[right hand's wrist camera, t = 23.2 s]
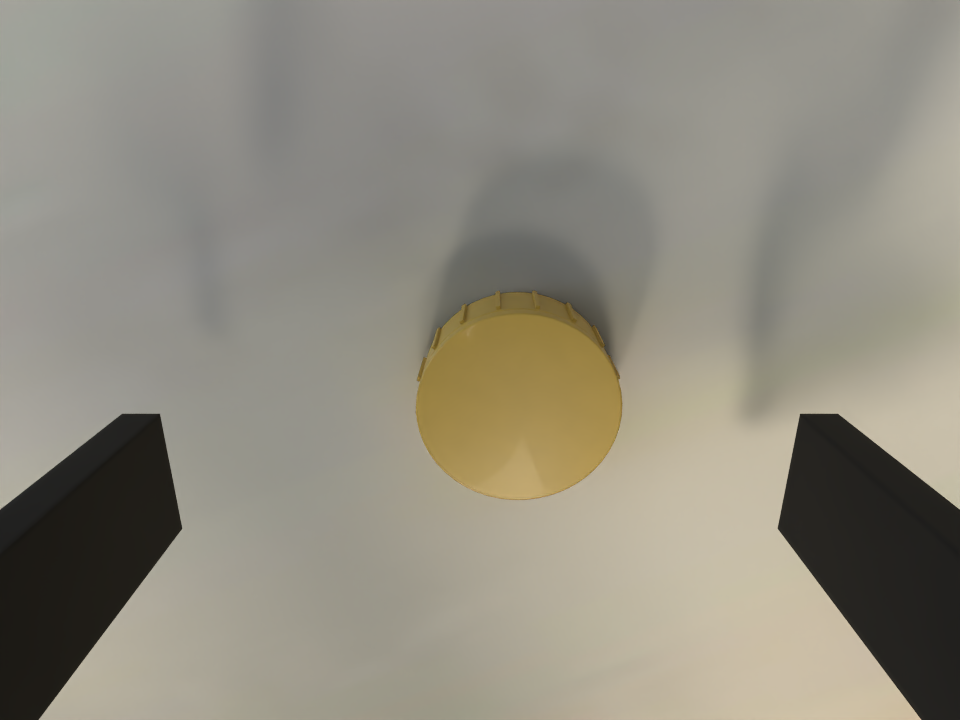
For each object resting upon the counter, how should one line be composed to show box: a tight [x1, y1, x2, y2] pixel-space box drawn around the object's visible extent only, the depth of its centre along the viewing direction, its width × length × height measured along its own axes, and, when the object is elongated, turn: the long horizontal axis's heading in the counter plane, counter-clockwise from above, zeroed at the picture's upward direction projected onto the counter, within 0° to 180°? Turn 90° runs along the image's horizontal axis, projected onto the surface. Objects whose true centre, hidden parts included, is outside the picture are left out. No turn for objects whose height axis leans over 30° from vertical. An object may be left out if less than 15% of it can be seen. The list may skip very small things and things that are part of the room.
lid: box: [416, 291, 622, 500], centre depth 15 cm, size 5×5×2 cm
